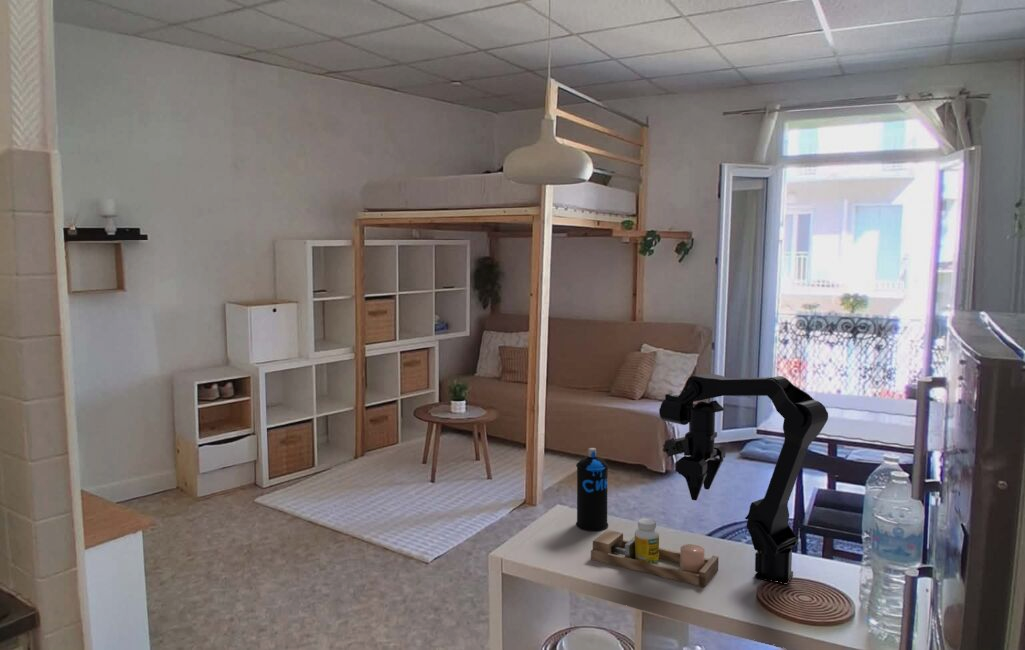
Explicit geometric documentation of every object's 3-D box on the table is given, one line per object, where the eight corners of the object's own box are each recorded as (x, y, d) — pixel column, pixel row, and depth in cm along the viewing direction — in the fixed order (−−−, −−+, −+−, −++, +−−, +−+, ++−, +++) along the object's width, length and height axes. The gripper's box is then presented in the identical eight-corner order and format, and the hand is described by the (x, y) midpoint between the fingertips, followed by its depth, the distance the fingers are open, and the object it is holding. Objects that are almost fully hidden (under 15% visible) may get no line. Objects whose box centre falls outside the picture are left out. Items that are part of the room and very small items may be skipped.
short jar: (706, 571, 150) (707, 547, 150) (700, 581, 146) (700, 555, 145) (684, 567, 153) (684, 542, 152) (677, 575, 148) (677, 550, 148)
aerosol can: (571, 521, 180) (571, 446, 179) (600, 518, 183) (600, 443, 181) (583, 533, 172) (583, 454, 171) (613, 529, 175) (614, 451, 173)
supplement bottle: (643, 555, 159) (644, 515, 158) (663, 563, 155) (664, 521, 154) (629, 562, 155) (629, 521, 154) (649, 570, 151) (650, 527, 150)
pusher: (641, 553, 159) (641, 534, 159) (629, 565, 153) (629, 545, 153) (613, 547, 163) (613, 528, 163) (600, 558, 157) (600, 538, 157)
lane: (718, 569, 151) (718, 552, 151) (704, 587, 143) (704, 568, 143) (608, 544, 165) (609, 528, 165) (590, 559, 157) (590, 541, 157)
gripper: (681, 417, 172) (680, 478, 174) (653, 432, 157) (652, 499, 158) (726, 422, 166) (725, 486, 167) (702, 438, 151) (701, 508, 152)
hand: (700, 494), depth 161 cm, fingers open, 9 cm apart
